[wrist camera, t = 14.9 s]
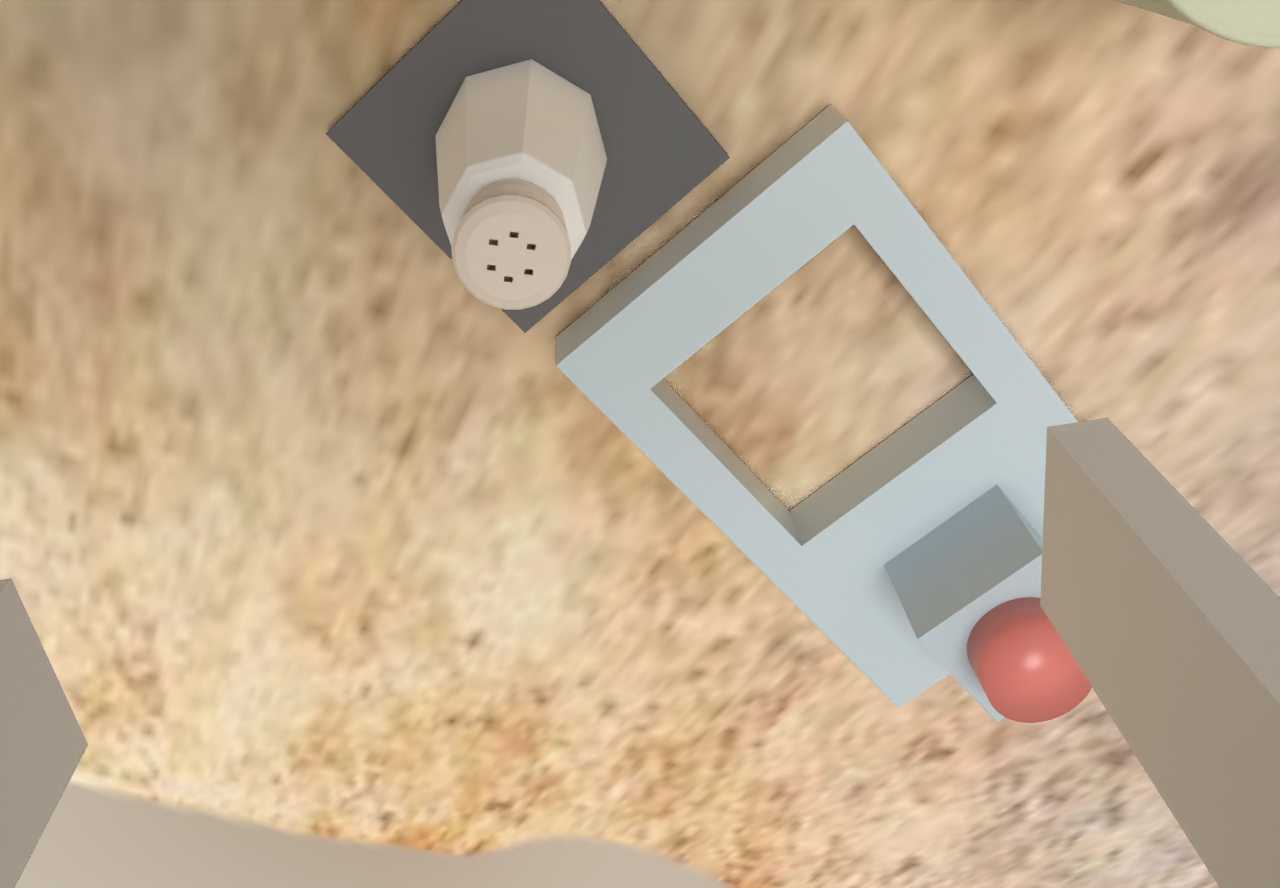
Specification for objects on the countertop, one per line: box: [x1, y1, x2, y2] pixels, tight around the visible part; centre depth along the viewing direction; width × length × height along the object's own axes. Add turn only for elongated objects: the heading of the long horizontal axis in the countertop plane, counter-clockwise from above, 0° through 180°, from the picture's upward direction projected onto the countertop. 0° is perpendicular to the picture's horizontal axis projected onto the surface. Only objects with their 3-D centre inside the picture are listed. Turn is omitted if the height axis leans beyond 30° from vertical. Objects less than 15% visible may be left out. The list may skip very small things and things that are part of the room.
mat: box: [326, 0, 729, 332], centre depth 37 cm, size 9×9×1 cm
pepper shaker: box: [435, 59, 607, 310], centre depth 32 cm, size 5×5×11 cm
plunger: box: [967, 597, 1092, 723], centre depth 38 cm, size 4×4×2 cm
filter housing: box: [556, 104, 1078, 723], centre depth 40 cm, size 20×12×7 cm, turn 41°
